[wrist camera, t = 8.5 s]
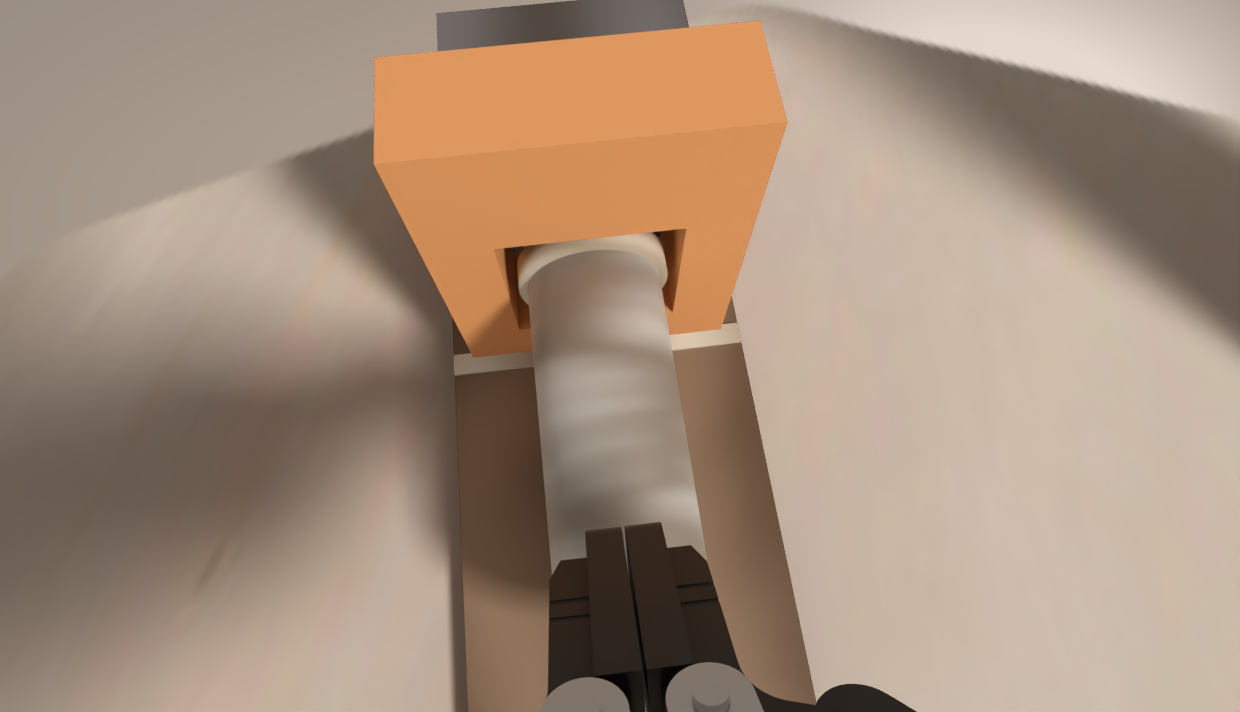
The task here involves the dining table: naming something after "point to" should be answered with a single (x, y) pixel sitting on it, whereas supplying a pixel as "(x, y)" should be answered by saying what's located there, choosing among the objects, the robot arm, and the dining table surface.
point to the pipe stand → (607, 429)
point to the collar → (580, 162)
